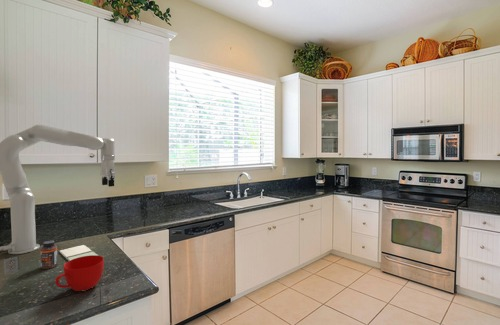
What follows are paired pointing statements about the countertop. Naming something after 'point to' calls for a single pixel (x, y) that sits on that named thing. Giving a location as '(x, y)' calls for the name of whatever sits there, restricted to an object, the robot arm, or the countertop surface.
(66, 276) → the ceramic cup
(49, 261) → the supplement bottle
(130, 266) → the countertop surface
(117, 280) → the countertop surface
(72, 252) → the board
